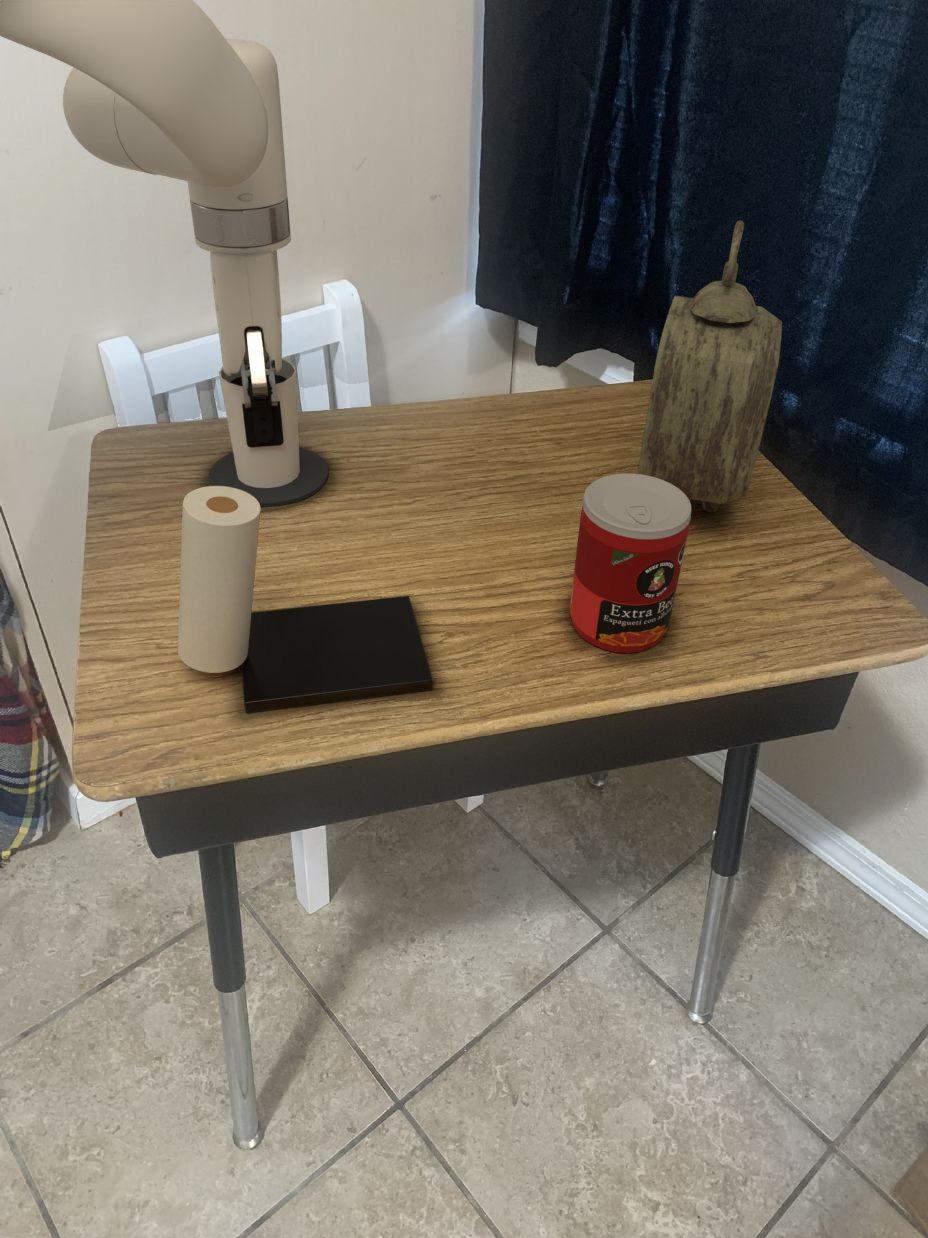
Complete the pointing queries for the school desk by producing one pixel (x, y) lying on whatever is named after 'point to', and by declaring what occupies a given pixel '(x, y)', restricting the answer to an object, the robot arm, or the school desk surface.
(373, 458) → the school desk surface
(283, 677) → the thin black tile
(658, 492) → the canned food
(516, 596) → the school desk surface
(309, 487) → the coaster
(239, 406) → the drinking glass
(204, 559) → the towel roll
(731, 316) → the wooden cowbell
